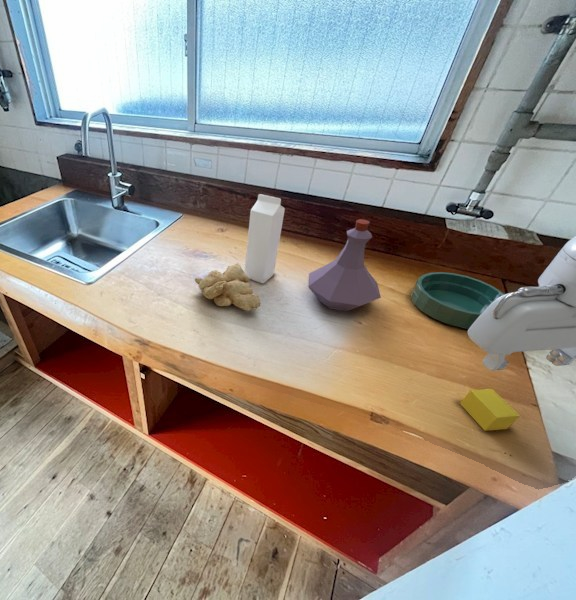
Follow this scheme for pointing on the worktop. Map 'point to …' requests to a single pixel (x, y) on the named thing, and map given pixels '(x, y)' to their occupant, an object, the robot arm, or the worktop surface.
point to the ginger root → (229, 288)
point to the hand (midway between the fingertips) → (523, 364)
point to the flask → (346, 274)
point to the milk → (263, 238)
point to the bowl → (453, 297)
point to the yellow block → (489, 409)
